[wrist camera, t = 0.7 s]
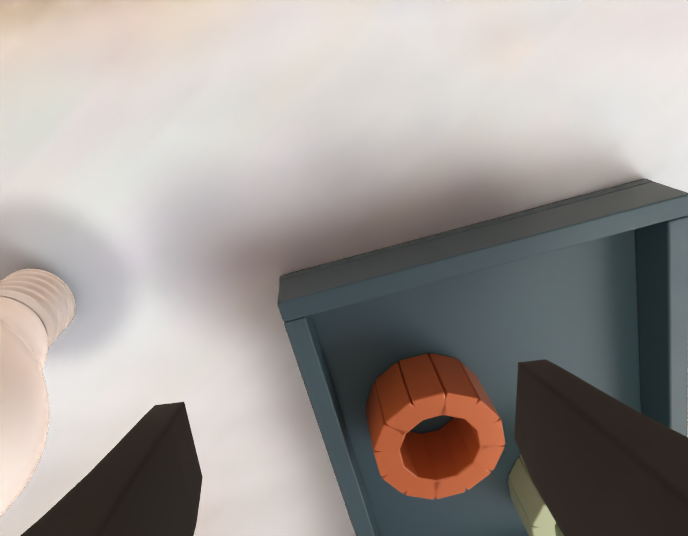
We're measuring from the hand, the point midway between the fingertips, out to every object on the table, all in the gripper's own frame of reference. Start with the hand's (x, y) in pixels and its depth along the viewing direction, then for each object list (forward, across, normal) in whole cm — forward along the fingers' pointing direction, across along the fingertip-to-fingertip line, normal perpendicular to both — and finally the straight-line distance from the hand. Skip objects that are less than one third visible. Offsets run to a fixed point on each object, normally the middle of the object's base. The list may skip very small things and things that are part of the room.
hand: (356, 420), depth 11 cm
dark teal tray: (+10, -7, +8) cm, 14 cm away
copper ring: (+9, -3, +7) cm, 12 cm away
